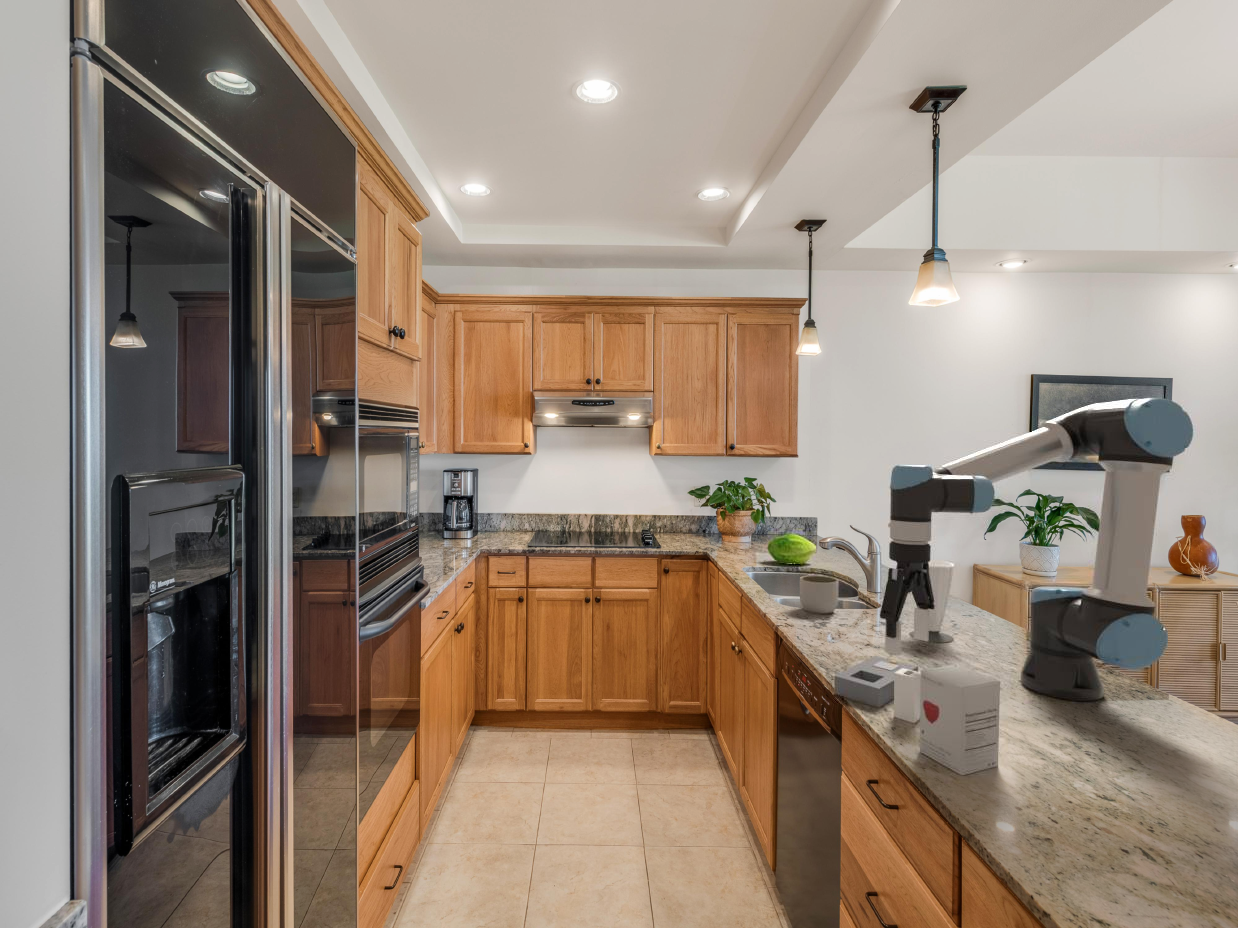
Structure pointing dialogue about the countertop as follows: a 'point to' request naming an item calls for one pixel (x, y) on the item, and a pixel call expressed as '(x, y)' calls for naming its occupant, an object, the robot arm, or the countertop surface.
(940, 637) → the cup
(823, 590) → the planter
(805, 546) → the green oval fruit
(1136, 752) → the countertop surface
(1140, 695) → the countertop surface
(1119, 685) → the countertop surface
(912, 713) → the block
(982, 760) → the supplement box
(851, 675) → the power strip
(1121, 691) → the countertop surface
